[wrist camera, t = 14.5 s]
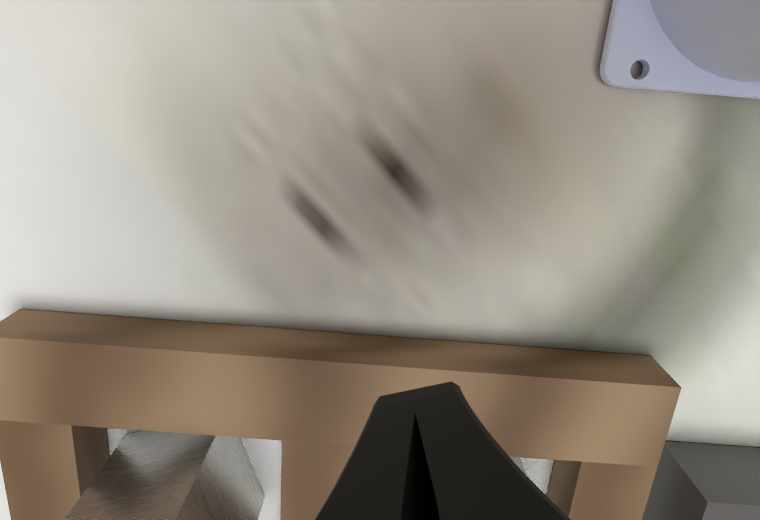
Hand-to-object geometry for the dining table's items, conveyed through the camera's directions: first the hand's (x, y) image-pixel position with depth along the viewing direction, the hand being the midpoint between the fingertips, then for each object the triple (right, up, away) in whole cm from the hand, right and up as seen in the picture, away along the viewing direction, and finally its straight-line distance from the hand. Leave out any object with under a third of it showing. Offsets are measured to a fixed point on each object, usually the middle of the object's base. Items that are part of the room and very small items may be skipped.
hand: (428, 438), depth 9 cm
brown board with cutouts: (-3, -6, +11) cm, 13 cm away
